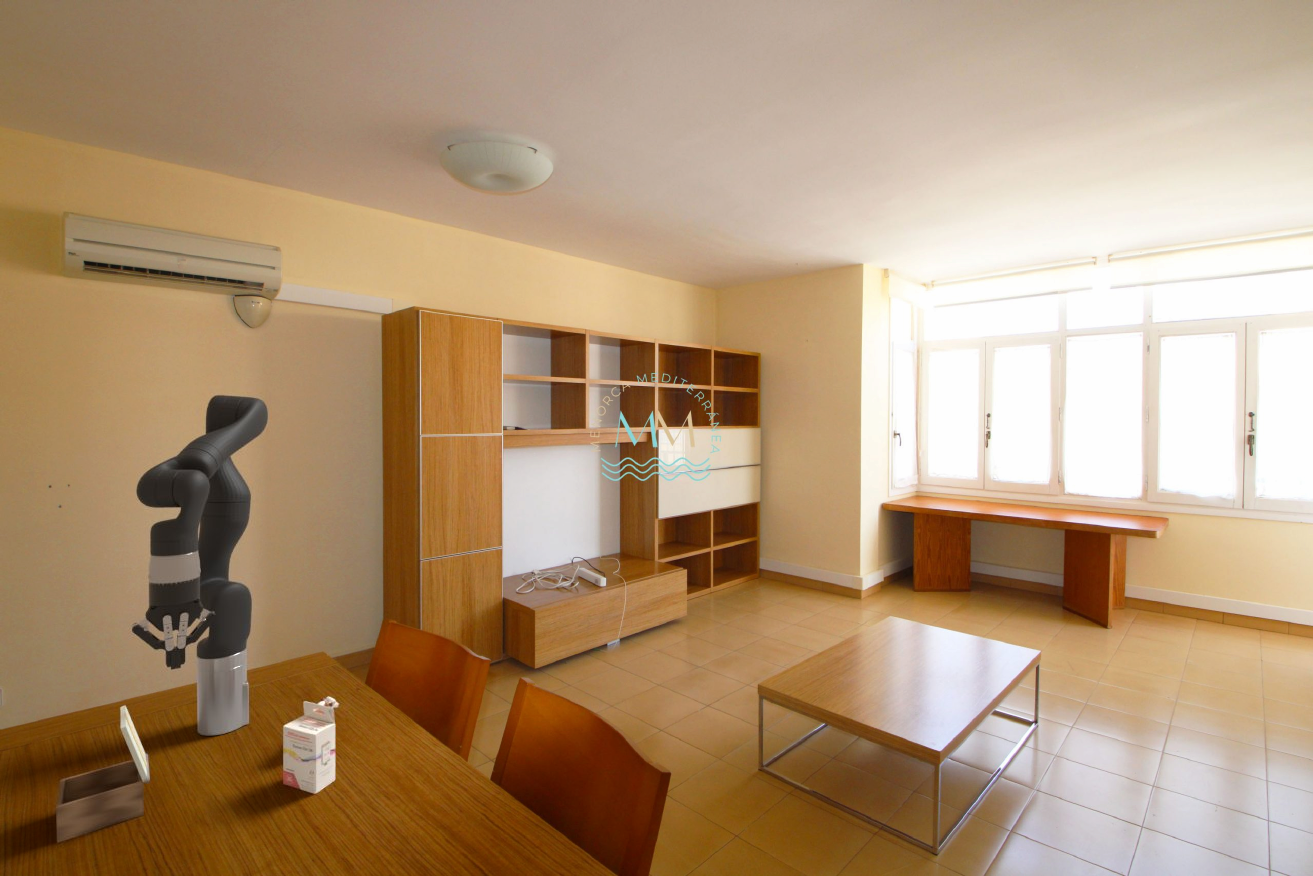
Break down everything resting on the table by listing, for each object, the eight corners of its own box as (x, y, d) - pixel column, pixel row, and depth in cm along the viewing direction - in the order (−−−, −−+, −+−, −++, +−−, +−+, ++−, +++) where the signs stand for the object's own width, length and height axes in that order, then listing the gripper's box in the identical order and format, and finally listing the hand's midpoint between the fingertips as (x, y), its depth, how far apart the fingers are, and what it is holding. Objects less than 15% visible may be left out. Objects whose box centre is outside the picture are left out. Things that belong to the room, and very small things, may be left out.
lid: (142, 759, 116) (148, 756, 116) (143, 784, 108) (150, 781, 109) (120, 707, 113) (126, 704, 114) (120, 728, 106) (127, 725, 106)
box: (142, 788, 116) (141, 757, 116) (143, 815, 108) (143, 782, 108) (61, 812, 109) (60, 779, 108) (57, 843, 101) (56, 807, 101)
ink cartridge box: (281, 785, 118) (280, 710, 117) (303, 771, 122) (303, 699, 122) (315, 795, 115) (314, 718, 114) (336, 780, 120) (336, 707, 119)
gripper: (216, 567, 121) (216, 653, 122) (127, 577, 112) (128, 670, 113) (220, 575, 115) (221, 665, 116) (128, 586, 107) (129, 684, 107)
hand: (175, 667), depth 115 cm, fingers closed
